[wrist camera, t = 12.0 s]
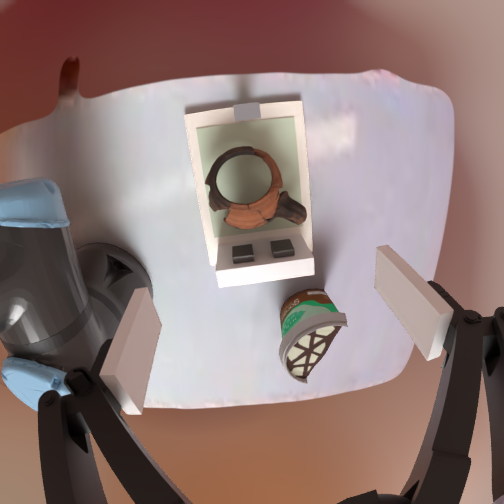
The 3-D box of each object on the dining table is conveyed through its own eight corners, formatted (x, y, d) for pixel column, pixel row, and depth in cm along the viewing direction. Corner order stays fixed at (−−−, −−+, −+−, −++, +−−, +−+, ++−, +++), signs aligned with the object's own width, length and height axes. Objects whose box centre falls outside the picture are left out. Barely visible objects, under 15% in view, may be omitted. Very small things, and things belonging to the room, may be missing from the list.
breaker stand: (211, 262, 42) (207, 293, 34) (185, 114, 33) (172, 114, 26) (310, 248, 42) (326, 277, 34) (300, 101, 33) (317, 97, 26)
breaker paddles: (233, 252, 37) (233, 263, 34) (232, 246, 36) (232, 257, 34) (290, 244, 37) (294, 255, 34) (289, 238, 36) (294, 249, 34)
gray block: (234, 120, 33) (235, 121, 26) (233, 107, 32) (233, 104, 25) (255, 118, 33) (261, 118, 26) (253, 105, 32) (258, 101, 25)
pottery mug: (203, 221, 38) (187, 206, 30) (228, 155, 39) (220, 127, 31) (292, 252, 37) (300, 244, 29) (315, 183, 38) (327, 160, 30)
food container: (292, 270, 43) (307, 312, 34) (328, 282, 44) (349, 322, 35) (260, 333, 48) (266, 379, 39) (294, 341, 49) (305, 386, 40)
